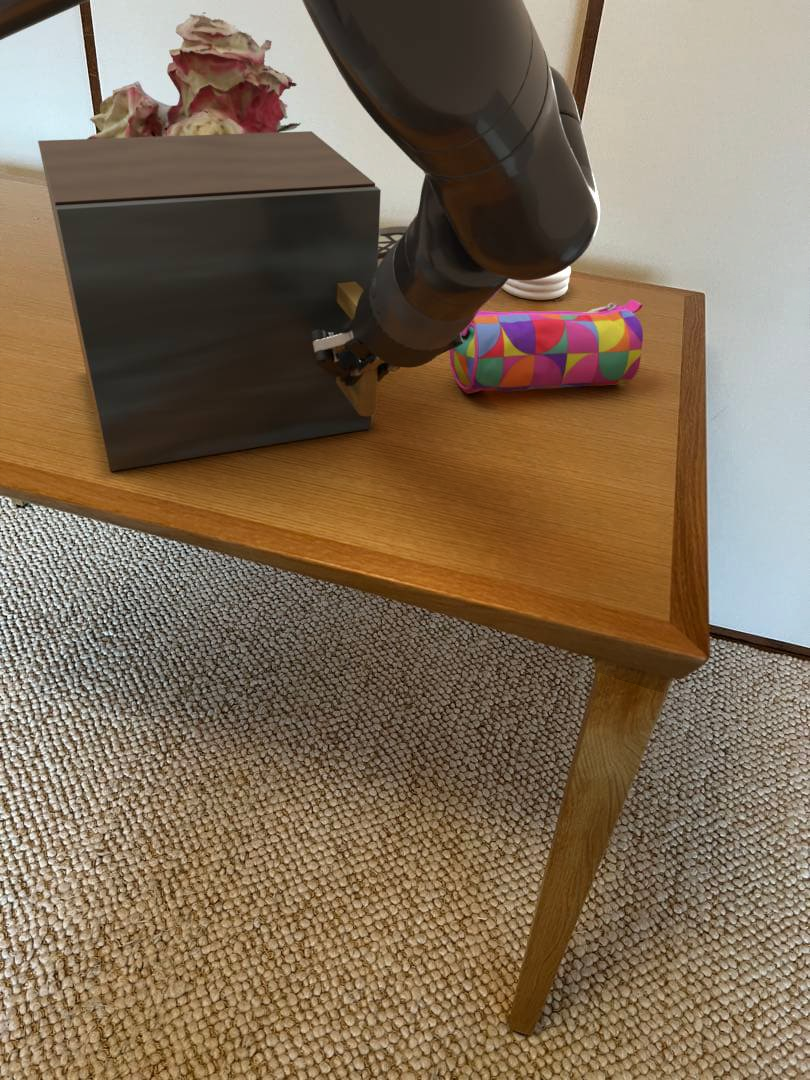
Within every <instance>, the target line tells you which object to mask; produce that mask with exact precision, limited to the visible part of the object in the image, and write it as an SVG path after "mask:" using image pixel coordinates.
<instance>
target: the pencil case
mask: <svg viewBox="0 0 810 1080" xmlns="http://www.w3.org/2000/svg"><path fill="white" fill-rule="evenodd" d="M642 308H643V303H641V302H639V301H636V300H634V299H631V298H630V299H629V300H628V302H627V303H625V305H620V304H616V303H615V302H610V303H608V304H607V305H605V306H601V307H596V308H592V309H589V310H588V311H580V312H579V311H572V310H555V311H554V310H553V311H550V310H549V311H526V310H525V311H502V312H501V311H500V312H495V311H488V310H487V311H486V310H479V311H478V313H477V315H476V316H475V318H474V319H473V320H472V322H471V323H470V324H469V325H468V326H467V327H466V328H465V329H464V330H463V331H462V332H461V336H462V341H463V344H461V345H459V346H458V347H455V348H453V349H451V350H449V362H450V368H451V372H452V375H453V377H454V380H455V383H457V385H458V386H459V388H460V389H461V390H462V391H463V392H464V393H465V394H468V395H469V394H474V393H477V392H479V391H481V390H483V391H486V392H494V391H497V392H517V391H527V390H528V391H529V390H532V389H535V390H536V389H537V390H545V389H546V390H547V389H549V390H550V389H561V388H572V387H573V388H574V387H575V388H576V387H589V386H590V387H592V386H610V385H611V386H614V385H622V384H623V385H624V384H627V383H629V382H631V381H632V380H633V379H634V378H635V376H637V373H638V371H639V369H640V365H641V359H642V349H643V341H644V340H643V339H644V331H643V326H642V323H641V322H640V319H639V318H638V317H637V316H636V315H635V314H634V313H637V312H639V311H641V309H642Z"/></svg>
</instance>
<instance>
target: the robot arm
mask: <svg viewBox="0 0 810 1080" xmlns="http://www.w3.org/2000/svg"><path fill="white" fill-rule="evenodd" d="M88 1H89V0H0V41H2V40H5V39H6V38H9V37H11V36H13V35H16V34H17V33H19V32H23V31H24V30H26V29H28V28H30V27H32V26H36V25H38V24H40V23H42V22H44V21H46V20H48V19H50V18H52V17H55V16H57V15H59V14H62V13H65V12H66V11H69V10H70V9H73V8H75V7H77V6H79V5H82V4H84V3H86V2H88ZM301 1H302V3H303V5H304V8H305V10H306V12H307V13H308V15H309V18H310V20H311V22H312V24H313V26H314V27H315V29H316V31H317V34H318V35H319V37H320V39H321V41H322V44H323V45H324V47H325V49H326V50H327V52H328V54H329V55H330V57H331V59H332V61H333V63H334V64H335V67H336V68H337V70H338V72H339V74H340V75H341V77H342V79H343V80H344V82H345V84H346V86H347V87H348V89H349V90H350V92H351V93H352V95H353V96H354V97H355V99H356V101H357V102H358V103H359V104H360V105H361V107H362V108H363V109H364V110H365V112H366V113H367V114H368V116H370V118H371V119H372V121H374V123H375V124H376V125H377V126H378V127H379V128H380V129H381V130H382V131H383V133H384V134H385V135H387V137H388V138H389V139H390V140H391V141H392V142H393V143H394V144H395V145H396V146H397V147H398V148H399V149H400V150H401V151H402V152H403V153H404V154H405V156H407V157H408V158H409V159H410V161H412V162H413V163H414V164H415V166H417V167H418V168H419V169H420V170H421V171H422V172H423V174H424V177H423V181H422V185H421V190H420V198H419V205H418V210H417V213H416V214H415V216H414V217H413V219H412V220H411V222H410V223H409V225H408V226H409V227H408V228H407V230H406V231H405V233H404V234H403V236H402V238H401V239H400V240H399V241H398V242H397V243H396V244H394V245H393V247H392V248H391V249H390V250H389V251H388V253H387V254H386V255H385V257H384V259H383V260H382V262H381V263H380V265H379V267H378V268H377V270H376V271H375V273H374V274H373V276H372V278H371V279H370V281H369V282H368V284H367V286H366V287H365V289H364V290H363V292H362V294H361V296H360V298H359V300H358V303H357V307H356V312H355V316H354V319H353V320H351V321H350V322H348V323H346V324H345V325H344V326H343V328H342V333H340V334H337V335H333V333H332V332H329V333H326V332H325V331H324V330H314V331H312V332H310V333H309V335H310V339H311V344H312V348H313V352H314V357H315V361H316V364H317V365H319V366H320V367H321V368H323V369H324V370H325V371H327V372H328V373H329V374H331V375H332V376H334V377H336V376H337V377H340V381H341V382H345V385H346V386H353V385H355V384H356V383H357V381H358V380H359V379H360V378H361V376H362V375H363V373H364V372H365V371H373V370H375V369H376V368H377V367H378V380H377V383H379V382H381V381H382V380H383V379H384V377H386V376H387V375H389V374H390V373H391V372H397V371H398V370H400V369H401V368H407V369H408V368H409V369H411V368H418V367H421V366H424V365H427V364H428V363H430V362H432V361H433V360H434V359H436V358H437V357H438V356H440V355H443V354H445V353H447V352H450V350H451V349H453V348H455V347H458V346H459V345H461V344H463V341H462V336H461V332H462V331H463V330H464V329H465V328H466V327H467V326H468V325H469V324H470V323H471V322H472V320H473V319H474V318H475V316H476V315H477V313H478V311H481V309H482V307H483V306H485V305H486V303H488V302H489V300H491V299H492V298H493V297H494V296H495V295H496V294H497V293H498V292H499V291H500V290H501V289H502V287H503V285H504V284H505V283H506V282H507V280H508V279H512V280H536V279H541V278H546V277H549V276H551V275H554V274H557V273H559V272H561V271H563V270H564V269H566V268H567V267H569V266H570V267H571V266H572V265H573V264H574V263H575V262H576V261H578V260H579V259H580V258H581V256H583V254H585V252H586V251H587V250H588V248H589V247H590V245H591V243H592V241H593V240H594V239H595V235H596V233H597V232H598V231H597V230H598V228H599V223H600V218H601V217H600V216H601V205H600V198H599V192H598V189H597V185H596V180H595V176H594V172H593V168H592V164H591V160H590V156H589V151H588V148H587V144H586V140H585V135H584V132H583V129H582V121H581V118H580V115H579V111H578V107H577V103H576V99H575V96H574V94H573V92H572V89H571V87H570V86H569V85H570V84H569V82H567V80H566V79H565V78H564V77H563V75H562V74H561V73H560V71H558V70H557V69H555V68H554V67H552V66H551V65H550V62H549V58H548V56H547V54H546V51H545V48H544V46H543V43H542V41H541V39H540V36H539V34H538V31H537V30H536V26H535V25H534V23H533V20H532V18H531V15H530V14H529V12H528V9H527V7H526V4H525V1H524V0H301ZM343 348H344V349H345V350H342V349H343Z"/></svg>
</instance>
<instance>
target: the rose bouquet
mask: <svg viewBox="0 0 810 1080" xmlns="http://www.w3.org/2000/svg"><path fill="white" fill-rule="evenodd" d="M205 14H206V12H205V11H204V12H201V15H198V14H192V13H190V14H189V17H188V18H187V19H186V20H185V21H184V22H182V23H180V24H178V25H177V26H176V28H175V33H176V34H177V35H179V36H180V37H181V38H182V40H183V41H182V43H181V45H180V47H179V48H174V49H168V53H169V55H170V57H171V58H172V62H170V63H168V65H167V67H166V73H167V76H168V77H169V79H170V80H171V82H172V83H173V85H174V87H175V88H176V90H177V92H178V94H179V97H178V101H177V104H176V105H170V104H167V103H163V102H161V101H158V100H156V99H154V98H153V97H152V96H151V95H149V93H146V91H145V90H144V89H143V87H142V85H141V83H140V81H134V82H133V83H130V84H127V85H123V86H121V87H119V88H115V89H113V90H112V95H110V96H108V97H106V98H105V99H104V100H103V101H101V103H100V105H99V113H97V114H96V115H93V116H92V117H91V118H89V120H90V121H91V122H92V123H93V124H94V125H95V127H97V129H98V130H99V131H100V132H97V133H95V134H92V135H90V136H88V137H87V138H86V139H103V138H132V137H161V136H190V135H219V134H248V133H277V132H288V131H293V130H295V129H296V128H298V127H299V126H300V125H301V124H302V123H301V122H299V123H297V122H291V123H288V124H287V125H286V124H284V125H282V122H281V121H283V120H284V119H288V117H289V116H288V115H287V110H288V109H287V108H288V104H286V103H285V102H284V101H283V100H282V99H280V98H281V96H282V95H283V93H284V92H285V90H290V89H291V88H292V87H293V88H294V87H296V86H297V85H298V84H297V83H296V82H293V79H292V78H291V77H290V76H288V75H287V74H285V72H282V73H281V72H280V71H278V70H276V69H274V67H272V66H271V65H266V64H265V62H266V59H265V58H266V52H269V50H271V48H272V41H271V40H269V39H265V41H264V42H263V43H262V44H261V45H259V44H258V43H257V41H255V39H253V36H252V35H250V34H249V33H247V32H242V31H241V30H239V28H237V26H236V25H235V24H231V23H229V22H227V21H224V20H223V19H220V18H218V19H216V18H214V19H211V17H209V16H206V15H205Z"/></svg>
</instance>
